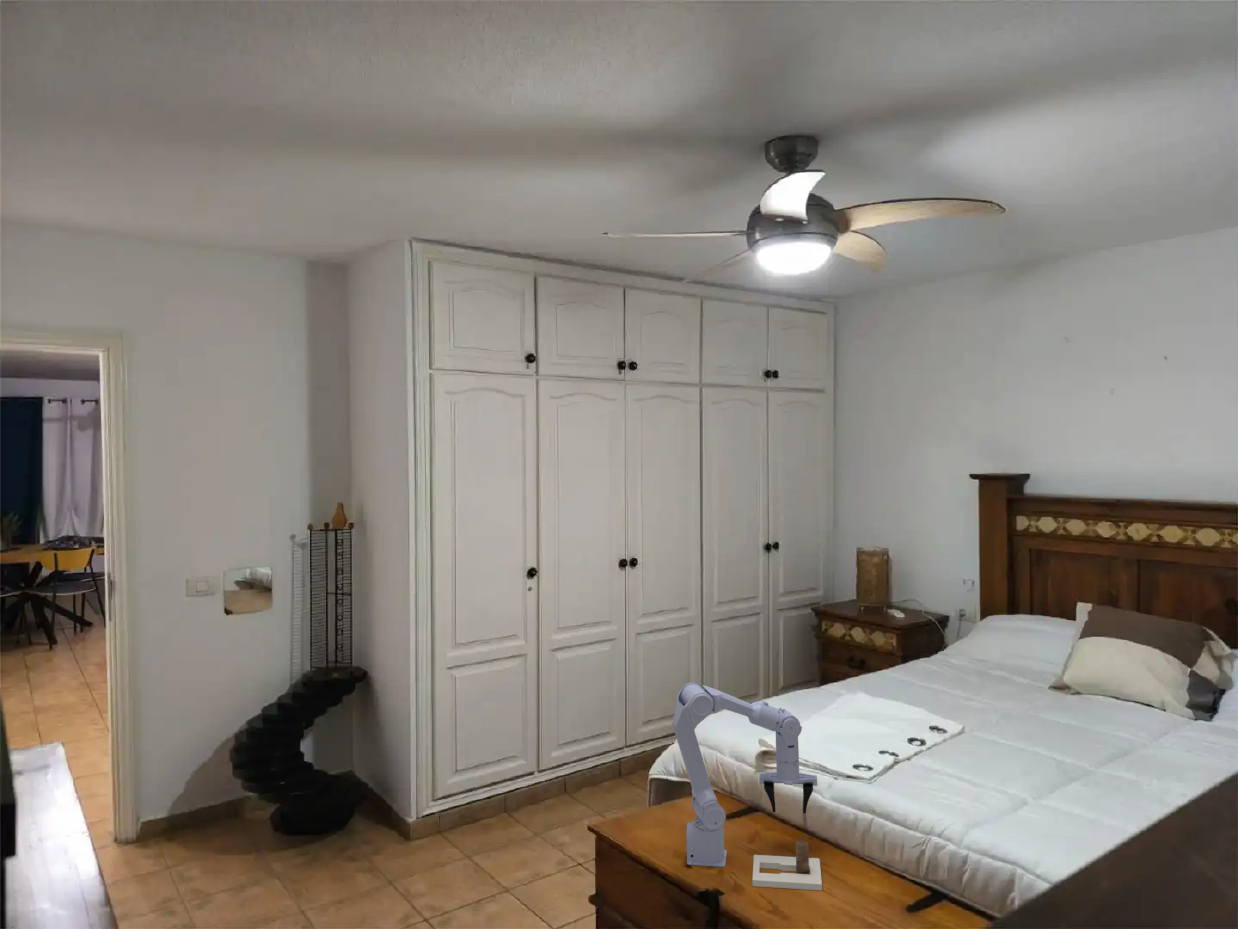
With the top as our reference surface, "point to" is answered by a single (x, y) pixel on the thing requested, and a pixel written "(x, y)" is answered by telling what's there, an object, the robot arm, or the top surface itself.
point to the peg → (802, 857)
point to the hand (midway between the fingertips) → (789, 811)
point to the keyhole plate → (786, 879)
